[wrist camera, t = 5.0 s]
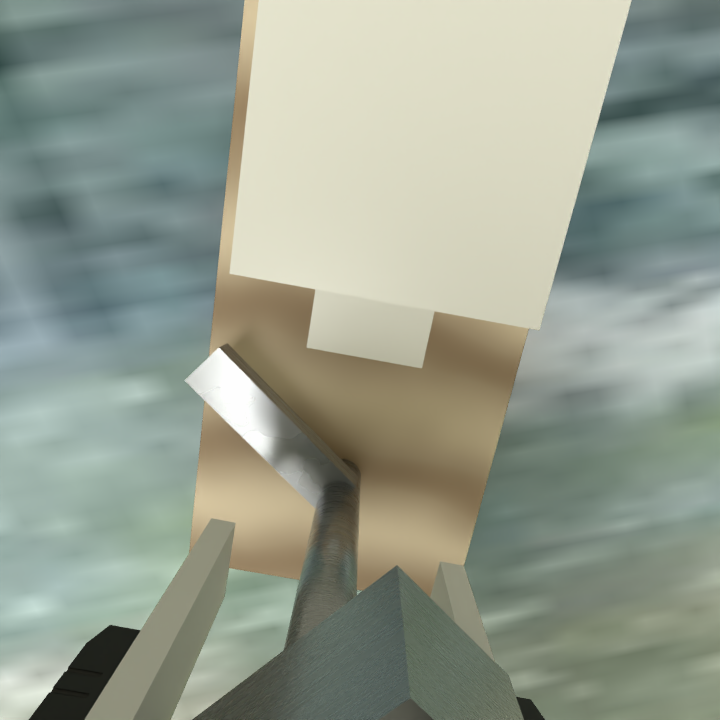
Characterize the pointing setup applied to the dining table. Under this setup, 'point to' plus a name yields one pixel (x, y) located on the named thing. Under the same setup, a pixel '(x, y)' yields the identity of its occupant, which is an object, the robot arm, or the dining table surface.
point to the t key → (345, 595)
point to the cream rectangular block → (418, 159)
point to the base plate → (351, 418)
